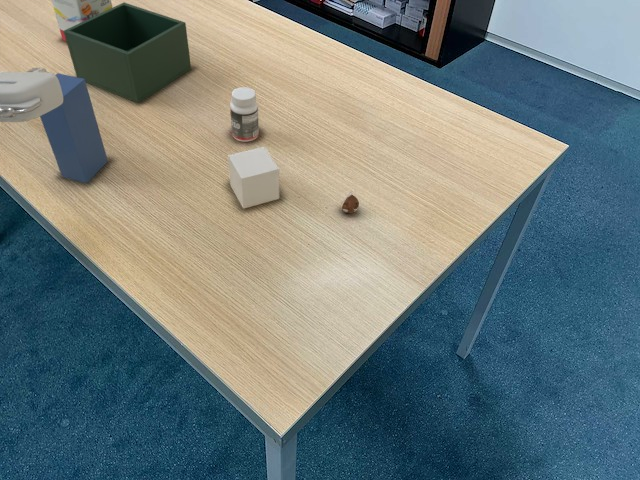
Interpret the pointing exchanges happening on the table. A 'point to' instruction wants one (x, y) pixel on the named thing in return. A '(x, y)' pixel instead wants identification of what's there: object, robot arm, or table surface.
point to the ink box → (77, 11)
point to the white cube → (254, 177)
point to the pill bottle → (244, 114)
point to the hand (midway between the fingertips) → (6, 73)
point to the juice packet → (75, 132)
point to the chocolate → (350, 203)
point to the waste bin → (129, 51)
